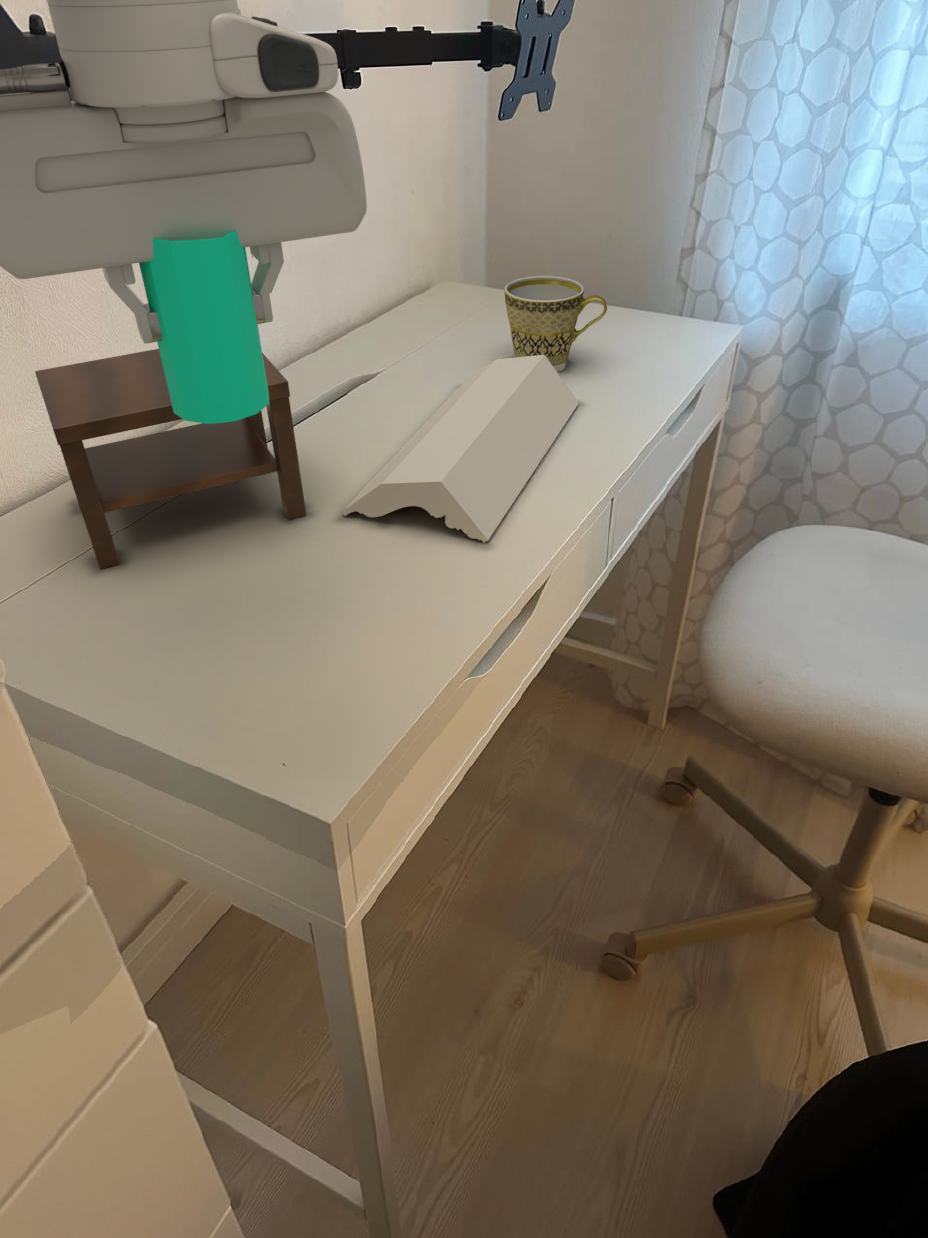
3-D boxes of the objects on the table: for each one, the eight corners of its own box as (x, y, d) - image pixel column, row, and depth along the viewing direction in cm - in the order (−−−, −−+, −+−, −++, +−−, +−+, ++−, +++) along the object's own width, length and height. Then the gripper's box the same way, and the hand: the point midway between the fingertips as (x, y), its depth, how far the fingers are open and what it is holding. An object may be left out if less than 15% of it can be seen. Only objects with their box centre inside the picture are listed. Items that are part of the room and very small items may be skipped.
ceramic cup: (496, 376, 115) (496, 298, 109) (511, 348, 123) (512, 273, 116) (597, 384, 112) (603, 304, 106) (606, 355, 120) (612, 278, 114)
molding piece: (508, 448, 115) (460, 385, 112) (579, 402, 107) (529, 334, 105) (406, 587, 91) (341, 512, 88) (488, 540, 83) (420, 456, 81)
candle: (256, 377, 59) (223, 179, 52) (282, 411, 55) (249, 200, 47) (164, 395, 57) (116, 191, 50) (183, 431, 53) (134, 214, 45)
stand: (99, 570, 81) (53, 429, 73) (77, 502, 91) (34, 370, 83) (307, 516, 88) (288, 380, 80) (266, 458, 98) (245, 332, 90)
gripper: (-74, 78, 39) (27, 381, 47) (365, 47, 46) (385, 317, 54) (-75, 64, 43) (17, 343, 52) (325, 38, 50) (348, 288, 59)
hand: (208, 329), depth 53 cm, fingers closed on candle, 5 cm apart
